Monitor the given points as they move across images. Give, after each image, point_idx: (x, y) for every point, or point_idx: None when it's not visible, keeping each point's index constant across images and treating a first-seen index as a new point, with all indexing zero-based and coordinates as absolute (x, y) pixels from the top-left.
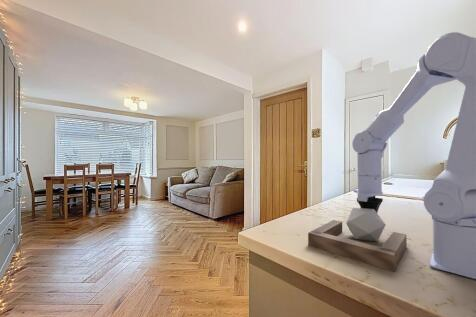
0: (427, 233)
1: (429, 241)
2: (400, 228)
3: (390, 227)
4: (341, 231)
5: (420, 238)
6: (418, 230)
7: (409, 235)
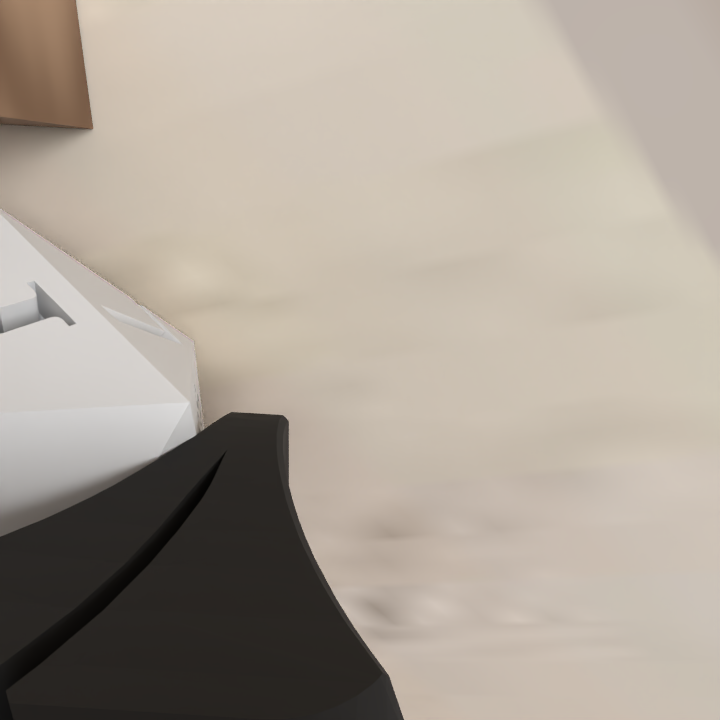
0: (644, 714)
1: (420, 716)
2: (699, 577)
3: (688, 510)
4: (53, 125)
5: (457, 682)
6: (708, 675)
7: (491, 632)
